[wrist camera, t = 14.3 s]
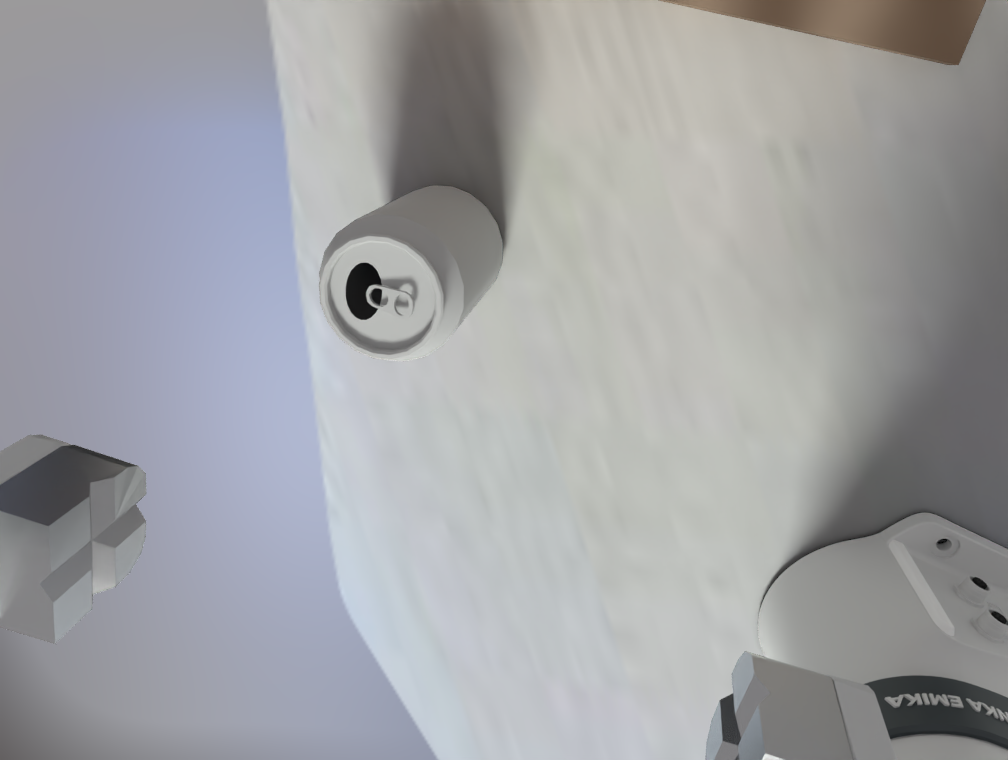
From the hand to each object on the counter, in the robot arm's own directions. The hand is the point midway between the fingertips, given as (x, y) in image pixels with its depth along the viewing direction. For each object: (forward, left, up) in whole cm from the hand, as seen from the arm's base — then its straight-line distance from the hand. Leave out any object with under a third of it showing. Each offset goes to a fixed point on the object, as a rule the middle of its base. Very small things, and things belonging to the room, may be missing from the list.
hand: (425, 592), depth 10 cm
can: (+9, +6, -37) cm, 39 cm away
